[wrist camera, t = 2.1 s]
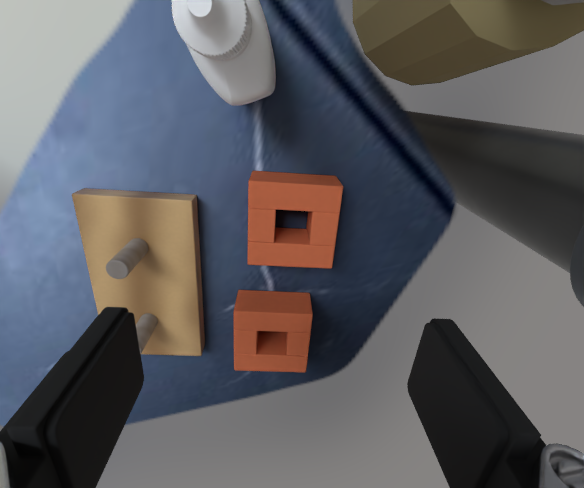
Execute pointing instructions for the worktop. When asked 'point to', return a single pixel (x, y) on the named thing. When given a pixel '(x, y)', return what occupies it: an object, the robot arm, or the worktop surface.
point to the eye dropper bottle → (229, 46)
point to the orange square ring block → (272, 331)
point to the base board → (146, 263)
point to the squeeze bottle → (459, 34)
